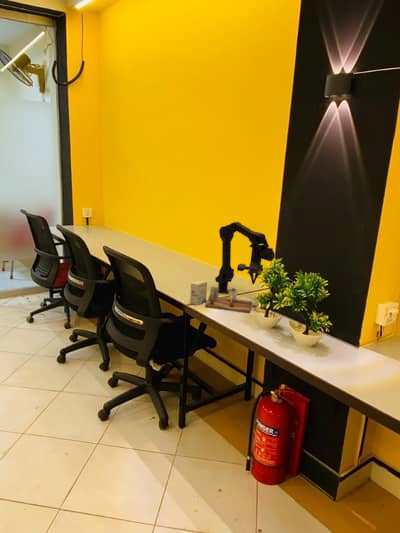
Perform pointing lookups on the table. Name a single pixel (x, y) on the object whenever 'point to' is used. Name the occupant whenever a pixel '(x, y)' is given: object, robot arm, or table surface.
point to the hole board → (225, 304)
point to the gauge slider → (232, 295)
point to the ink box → (198, 292)
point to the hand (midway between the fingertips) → (253, 284)
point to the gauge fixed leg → (214, 293)
